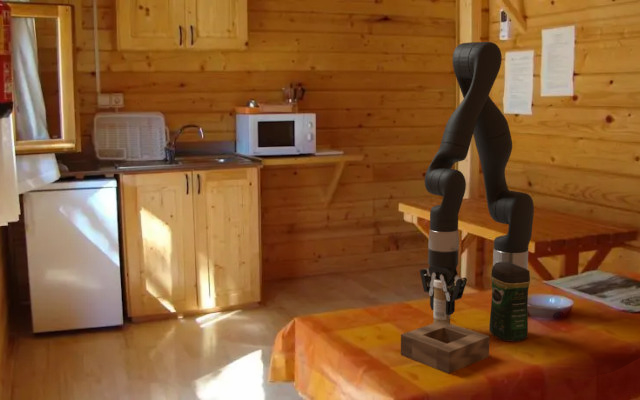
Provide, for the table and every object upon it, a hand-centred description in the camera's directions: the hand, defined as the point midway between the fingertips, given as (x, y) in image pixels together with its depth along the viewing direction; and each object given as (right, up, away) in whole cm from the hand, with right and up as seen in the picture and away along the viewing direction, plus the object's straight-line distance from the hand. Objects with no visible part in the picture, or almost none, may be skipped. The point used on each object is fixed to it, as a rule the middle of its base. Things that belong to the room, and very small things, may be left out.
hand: (442, 311), depth 186 cm
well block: (-2, -8, -16) cm, 18 cm away
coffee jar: (+16, -6, -4) cm, 17 cm away
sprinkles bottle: (0, -5, +1) cm, 5 cm away
